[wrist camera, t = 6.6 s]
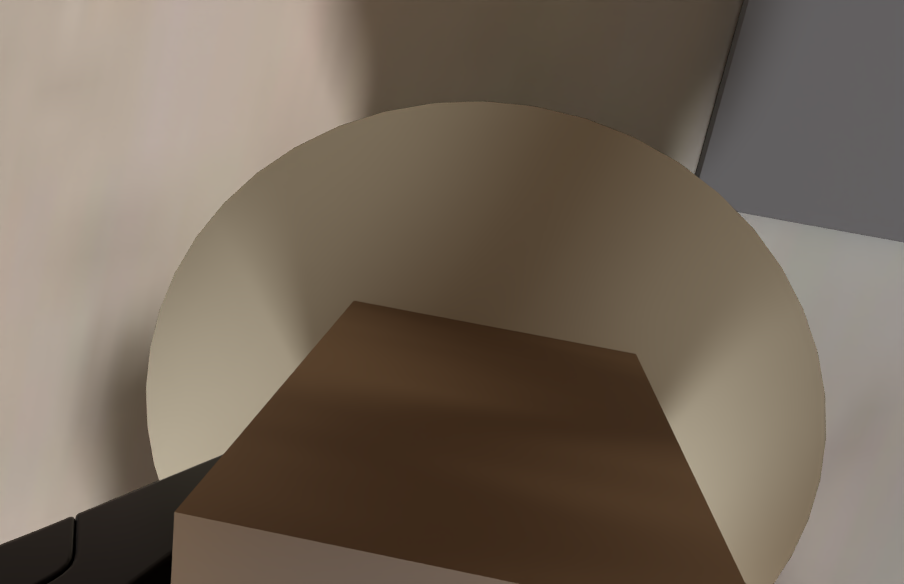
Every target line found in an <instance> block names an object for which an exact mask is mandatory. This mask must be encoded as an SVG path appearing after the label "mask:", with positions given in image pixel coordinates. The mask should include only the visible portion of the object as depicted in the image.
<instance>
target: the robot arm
mask: <svg viewBox="0 0 904 584" xmlns="http://www.w3.org/2000/svg"><path fill="white" fill-rule="evenodd" d="M221 456H222V455H220V456H218V457H215V458H213V459H210V460H208V461H206V462H203V463H201V464H198V465H196V466H193V467H191V468H189V469H186V470H184V471H181V472H179V473H176V474H174V475H172V476H169V477H167V478H164V479H162V480H159V481H157V482H154V483H152V484H150V485H147V486H145V487H142V488H140V489H137V490H135V491H132V492H130V493H128V494H125V495H123V496H120V497H118V498H115V499H113V500H110V501H108V502H106V503H103V504H101V505H98V506H96V507H93V508H91V509H88V510H86V511H84V512H81V513H79V514H77V515H76V518H75V519H74V518H73V517H69V518H66V519H64V520H61V521H59V522H56V523H54V524H52V525H49V526H47V527H44V528H42V529H39V530H37V531H34V532H32V533H29V534H27V535H24V536H21V537H19V538H16V539H14V540H11V541H9V542H6V543H3V544H1V545H0V584H171V571H172V551H173V530H174V512H175V511H176V509H177V508H178V507H179V506H180V505H181V504H182V502H183V501H184V500H185V499H186V498H187V497H188V495H189V494H190V493H191V492H192V491H193V489H194V488H195V487H196V486H197V485H198V484H199V482H200V481H201V480H202V479H203V478H204V476H205V475H206V474H207V473H208V472H209V471H210V469H211V468H212V467H213V466H214V465H215V464H216V462H217V461H218V460H219V459H220V458H221ZM745 584H746V583H745Z"/></svg>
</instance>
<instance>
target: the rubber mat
mask: <svg viewBox="0 0 904 584" xmlns="http://www.w3.org/2000/svg"><path fill="white" fill-rule="evenodd" d="M696 176H697V177H698V178H700V179H701V180H702V181H703V182H705V183H706V184H707V185H709V186H710V187H711V188H713V189H714V190H715V191H716V192H718V193H719V194H720V195H721V196H722V197H723V198H724V199H725V200H726V201H727V202H728V203H729V204H730V205H731V206H732V207H733V208H734V209H735V210H736V211H737V212H741V213H746V214H752V215H757V216H763V217H768V218H774V219H779V220H785V221H790V222H795V223H801V224H806V225H812V226H817V227H823V228H828V229H834V230H839V231H845V232H850V233H856V234H861V235H867V236H872V237H878V238H883V239H889V240H894V241H900V242H904V0H744V1H743V5H742V9H741V12H740V16H739V20H738V23H737V27H736V30H735V34H734V38H733V41H732V45H731V48H730V52H729V56H728V59H727V63H726V67H725V70H724V74H723V77H722V81H721V85H720V88H719V92H718V95H717V99H716V103H715V106H714V110H713V114H712V117H711V121H710V124H709V128H708V132H707V135H706V139H705V142H704V146H703V150H702V153H701V157H700V161H699V164H698V168H697V171H696Z"/></svg>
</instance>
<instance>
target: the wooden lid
mask: <svg viewBox="0 0 904 584" xmlns="http://www.w3.org/2000/svg"><path fill="white" fill-rule="evenodd" d="M146 402H147V427H148V432H149V438H150V444H151V449H152V455H153V461H154V465H155V469H156V472H157V475H158V478H159V480H162V479H164V478H167V477H169V476H172V475H174V474H176V473H179V472H181V471H184V470H186V469H189V468H191V467H193V466H196V465H198V464H201V463H203V462H206V461H208V460H210V459H213V458H215V457H218V456H220V455H222V456H221V458H220V459H219V460H218V461H217V462H216V464H215V465H214V466H213V467H212V468H211V469H210V471H209V472H208V473H207V474H206V475H205V476H204V478H203V479H202V480H201V481H200V482H199V484H198V485H197V486H196V487H195V488H194V489H193V491H192V492H191V493H190V494H189V495H188V497H187V498H186V499H185V500H184V501H183V502H182V504H181V505H180V506H179V507H178V508H177V509H176V511H175V512H174V530H173V551H172V571H171V584H745V583H746V584H774V582H775V581H776V579H777V578H778V576H779V574H780V573H781V571H782V570H783V568H784V567H785V565H786V564H787V562H788V561H789V559H790V558H791V556H792V554H793V552H794V550H795V547H796V545H797V543H798V541H799V539H800V537H801V534H802V532H803V530H804V528H805V526H806V524H807V522H808V519H809V516H810V512H811V509H812V506H813V502H814V499H815V496H816V492H817V489H818V485H819V482H820V477H821V470H822V463H823V455H824V448H825V441H826V420H825V392H824V386H823V381H822V375H821V369H820V363H819V357H818V352H817V349H816V346H815V343H814V340H813V337H812V334H811V331H810V328H809V325H808V322H807V319H806V316H805V313H804V310H803V308H802V306H801V304H800V302H799V300H798V298H797V296H796V294H795V292H794V291H793V289H792V287H791V285H790V283H789V281H788V279H787V277H786V275H785V273H784V271H783V269H782V267H781V266H780V265H779V263H778V262H777V261H776V259H775V258H774V256H773V255H772V254H771V252H770V251H769V249H768V248H767V247H766V245H765V244H764V243H763V241H762V240H761V238H760V237H759V236H758V234H757V233H756V231H755V230H754V229H753V228H752V227H751V226H750V225H749V224H748V223H747V222H746V221H745V220H744V219H743V217H742V216H741V215H740V214H739V213H738V212H737V211H736V210H735V209H734V208H733V207H732V206H731V205H730V204H729V203H728V202H727V201H726V200H725V199H724V198H723V197H722V196H721V195H720V194H719V193H718V192H716V191H715V190H714V189H713V188H711V187H710V186H709V185H707V184H706V183H705V182H703V181H702V180H701V179H700V178H698V177H697V176H696V175H694V174H693V173H692V172H690V171H689V170H688V169H687V168H685V167H684V166H683V165H681V164H680V163H678V162H677V161H675V160H673V159H671V158H670V157H668V156H666V155H664V154H663V153H661V152H659V151H657V150H655V149H654V148H652V147H650V146H648V145H647V144H645V143H643V142H641V141H640V140H638V139H636V138H634V137H631V136H629V135H626V134H624V133H621V132H619V131H616V130H614V129H611V128H609V127H606V126H604V125H601V124H599V123H596V122H593V121H591V120H588V119H585V118H581V117H577V116H573V115H569V114H565V113H561V112H557V111H552V110H548V109H544V108H540V107H536V106H526V105H516V104H506V103H497V102H487V101H479V102H450V103H431V104H425V105H420V106H414V107H408V108H402V109H397V110H391V111H385V112H382V113H379V114H375V115H372V116H369V117H366V118H363V119H360V120H357V121H354V122H351V123H347V124H344V125H341V126H338V127H336V128H334V129H332V130H330V131H328V132H326V133H324V134H322V135H319V136H317V137H315V138H313V139H311V140H309V141H307V142H305V143H303V144H301V145H299V146H297V147H295V148H293V149H292V150H290V151H289V152H287V153H286V154H284V155H283V156H281V157H280V158H279V159H277V160H276V161H274V162H273V163H271V164H270V165H268V166H267V167H265V168H264V169H262V170H261V171H259V172H258V173H256V174H255V175H254V176H253V177H252V178H251V179H250V180H249V181H248V182H247V183H246V184H244V185H243V186H242V187H241V188H240V189H239V190H238V191H237V192H236V193H235V194H233V195H232V196H231V197H230V198H229V199H228V200H227V201H226V202H225V203H224V204H223V205H222V206H221V207H220V209H219V210H218V211H217V212H216V214H215V215H214V216H213V217H212V218H211V220H210V221H209V222H208V223H207V225H206V226H205V227H204V228H203V229H202V231H201V232H200V233H199V234H198V236H197V237H196V238H195V240H194V242H193V244H192V245H191V247H190V249H189V250H188V252H187V254H186V255H185V257H184V259H183V260H182V262H181V264H180V265H179V267H178V269H177V270H176V272H175V274H174V277H173V279H172V281H171V284H170V286H169V289H168V291H167V294H166V296H165V298H164V301H163V303H162V306H161V308H160V311H159V315H158V319H157V323H156V327H155V331H154V335H153V339H152V343H151V347H150V353H149V363H148V373H147V383H146Z"/></svg>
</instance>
